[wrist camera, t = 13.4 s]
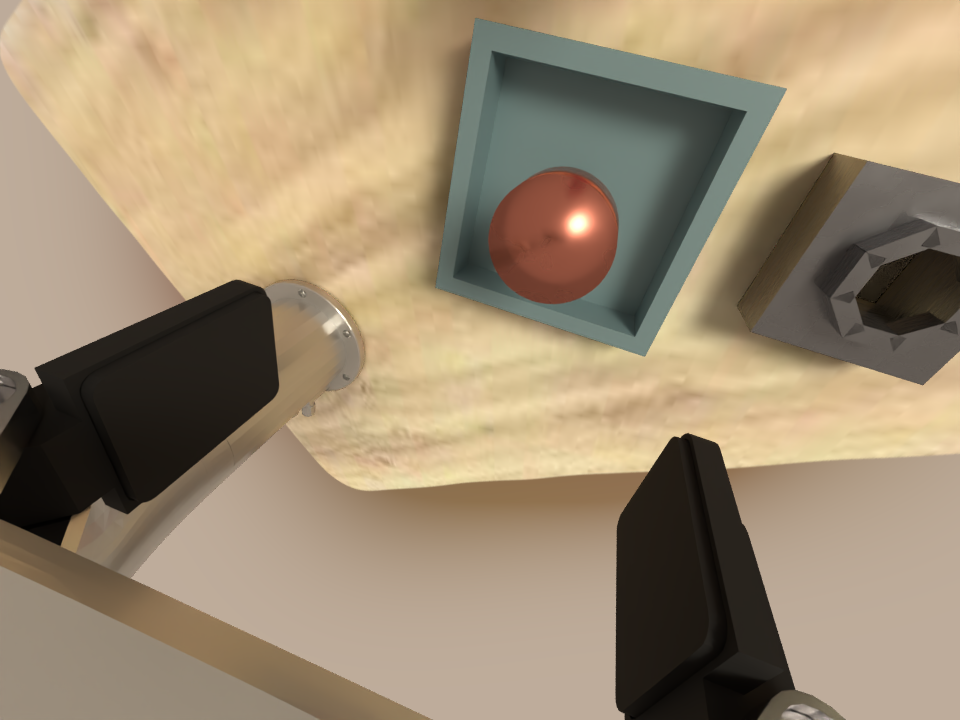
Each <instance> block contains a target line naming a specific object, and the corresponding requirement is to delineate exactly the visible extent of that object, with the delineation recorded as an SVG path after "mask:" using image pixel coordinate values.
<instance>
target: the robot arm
mask: <svg viewBox="0 0 960 720" xmlns="http://www.w3.org/2000/svg"><path fill="white" fill-rule="evenodd" d="M364 355H365V351H364V345H363V340H362V337H361V335H360V332H359V330H358V328H357V326H356V324H355V322H354V320H353V319H352V317H351V316H350V315H349V313H348V312H347V310H346V309H345V308H344V307H343V306H342V305H341V304H340V303H339V302H338V301H337V300H336V299H335V298H333V297H332V296H331V295H330V294H328V293H327V292H326V291H324V290H322V289H320V288H319V287H317V286H315V285H312V284H310V283H307V282H304V281H299V280H282V281H278V282H275V283H273V284H271V285H269V286H267V287H266V288H265V289H263V288H261V287H259V286H256V285H253V284H250V283H247V282H244V281H241V280H234V281H231V282H228V283H226V284H224V285H222V286H219V287H217V288H215V289H212V290H210V291H208V292H206V293H203V294H201V295H199V296H197V297H194V298H192V299H190V300H187V301H185V302H183V303H181V304H178V305H176V306H174V307H172V308H169V309H167V310H165V311H163V312H160V313H158V314H156V315H153V316H151V317H149V318H147V319H145V320H142V321H140V322H138V323H135V324H133V325H131V326H129V327H126V328H124V329H122V330H119V331H117V332H115V333H113V334H110V335H108V336H106V337H104V338H101V339H99V340H97V341H95V342H92V343H90V344H88V345H85V346H83V347H81V348H79V349H76V350H74V351H72V352H70V353H67V354H65V355H63V356H60V357H58V358H56V359H54V360H51V361H49V362H47V363H45V364H42V365H40V366H38V367H35V370H36V372H37V374H38V376H39V378H40V379H41V382H42V384H41V385H38V386H36V387H34V388H32V387H31V385H30V383H29V382H28V380H27V378H26V376H24V375H22V374H20V373H18V372H15V371H10V370H4V369H0V720H432V719H430V718H428V717H425V716H423V715H421V714H419V713H417V712H415V711H413V710H411V709H409V708H406V707H404V706H402V705H400V704H398V703H396V702H394V701H392V700H390V699H387V698H385V697H383V696H381V695H379V694H377V693H375V692H373V691H371V690H368V689H366V688H364V687H362V686H360V685H358V684H356V683H354V682H351V681H349V680H347V679H345V678H343V677H341V676H339V675H337V674H334V673H332V672H330V671H328V670H326V669H324V668H322V667H320V666H317V665H315V664H313V663H311V662H309V661H306V660H305V659H302V658H300V657H298V656H296V655H294V654H292V653H289V652H287V651H285V650H283V649H281V648H279V647H277V646H275V645H272V644H270V643H268V642H266V641H264V640H262V639H259V638H257V637H255V636H253V635H251V634H249V633H247V632H244V631H242V630H240V629H238V628H236V627H234V626H232V625H230V624H227V623H225V622H223V621H221V620H219V619H217V618H214V617H212V616H210V615H208V614H206V613H204V612H201V611H199V610H197V609H195V608H193V607H191V606H189V605H186V604H184V603H182V602H180V601H178V600H176V599H173V598H171V597H169V596H167V595H165V594H163V593H161V592H159V591H156V590H154V589H152V588H150V587H148V586H146V585H143V584H141V583H139V582H137V581H135V580H132V579H131V577H132V576H133V575H134V574H135V573H136V571H137V570H138V569H139V568H140V567H141V565H142V564H143V563H144V562H145V561H146V560H147V558H148V557H149V556H150V555H151V554H152V553H153V552H154V550H155V549H156V548H157V547H158V546H159V545H160V544H161V543H162V541H163V540H164V539H165V538H166V537H167V536H168V535H169V534H170V533H171V532H172V531H173V530H174V529H175V528H176V527H177V526H178V525H179V524H180V523H181V522H182V521H183V519H185V518H186V517H187V515H188V514H189V513H191V512H192V511H193V510H194V509H195V508H196V507H197V506H198V505H199V504H200V503H201V502H202V501H203V500H204V499H205V498H206V497H207V496H208V495H209V494H210V493H211V492H212V491H214V490H215V489H216V488H217V487H218V486H219V485H220V484H221V483H222V482H223V481H224V480H225V479H226V478H228V477H229V476H230V475H231V474H232V473H233V472H234V471H235V470H236V469H237V468H238V467H239V466H240V465H241V464H243V463H244V462H245V461H246V460H247V459H248V458H249V457H250V456H251V455H252V454H253V453H254V452H255V451H256V450H257V449H259V448H260V447H261V446H262V445H263V444H264V443H265V442H266V441H267V440H268V439H269V438H271V437H272V436H273V435H274V434H275V433H276V432H277V431H278V430H279V429H280V428H281V427H282V426H283V425H285V424H286V423H287V422H288V421H289V420H290V419H291V418H293V417H295V416H297V415H298V413H299V411H300V410H301V409H302V414H303V415H304V416H307V417H309V416H312V415H314V414H315V402H314V401H315V400H316V399H317V398H318V397H319V396H320V395H321V394H322V393H323V392H324V391H336V390H340V389H343V388H345V387H347V386H348V385H349V384H351V383H352V382H353V381H354V380H355V379H356V378H357V377H358V375H359V374H360V372H361V370H362V368H363V364H364ZM616 568H617V569H616V571H617V572H616V705H617V708H618V710H619V711H620V712H623V713H625V720H846V719H844V718H843V717H842V716H841V715H840V714H839V713H838V712H836V711H835V710H834V709H833V708H832V707H831V706H829V705H827V704H826V703H824V702H823V701H821V700H819V699H818V698H816V697H814V696H813V695H810V694H807V693H804V692H801V691H798V690H795V687H794V684H793V680H792V677H791V674H790V671H789V667H788V664H787V661H786V657H785V654H784V651H783V647H782V644H781V641H780V637H779V634H778V631H777V628H776V624H775V621H774V618H773V614H772V611H771V608H770V605H769V601H768V598H767V594H766V591H765V588H764V585H763V581H762V578H761V575H760V571H759V568H758V565H757V561H756V558H755V555H754V551H753V548H752V545H751V541H750V538H749V535H748V532H747V530H746V528H745V526H744V525H743V524H742V522H741V518H740V515H739V512H738V508H737V505H736V502H735V498H734V495H733V491H732V488H731V485H730V481H729V478H728V474H727V471H726V467H725V464H724V461H723V457H722V454H721V451H720V448H719V446H718V444H717V443H715V442H712V441H709V440H706V439H703V438H701V437H698V436H695V435H692V434H689V433H687V434H684V435H683V436H682V437H681V438H679V437H673V438H671V440H670V441H669V442H668V444H667V445H666V447H665V448H664V450H663V451H662V453H661V454H660V456H659V457H658V459H657V460H656V462H655V463H654V465H653V466H652V468H651V469H650V471H649V473H648V474H647V476H646V477H645V479H644V480H643V482H642V483H641V485H640V486H639V488H638V489H637V491H636V492H635V494H634V495H633V497H632V498H631V500H630V501H629V503H628V504H627V506H626V507H625V509H624V511H623V512H622V514H621V515H620V518H619V521H618V525H617V567H616Z"/></svg>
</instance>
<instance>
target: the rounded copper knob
mask: <svg viewBox="0 0 960 720" xmlns="http://www.w3.org/2000/svg"><path fill="white" fill-rule="evenodd" d="M618 230H619V217H618V211H617V206H616V204H615V201H614V199H613V197H612V195H611V193H610V191H609V190H608V189H607V187H606V186H605V185H604V184H603V183H602V182H601V181H600V180H599V179H598V178H596V177H595V176H594V175H592V174H590V173H588V172H586V171H584V170H581V169H578V168H574V167H565V166H560V167H552V168H548V169H544V170H542V171H539V172H537V173H535V174H534V175H532V176H530V177H529V178H528V179H526V180H525V181H524V182H522V183H521V184H519V185H518V186H517V187H515V188H514V189H513V190H511V191H510V192H509V193H508V194H507V195H506V196H505V197H504V199H503V200H502V201H501V202H500V204H499V205H498V207H497V209H496V210H495V213H494V215H493V217H492V220H491V224H490V228H489V237H488V244H489V252H490V256H491V260H492V263H493V265H494V267H495V269H496V271H497V273H498V275H499V276H500V278H501V279H502V280H503V281H504V283H505V284H506V285H507V286H508V287H509V288H510V289H512V290H513V291H514V292H516V293H517V294H518V295H520V296H522V297H524V298H526V299H528V300H531V301H534V302H538V303H544V304H561V303H567V302H571V301H574V300H576V299H579V298H581V297H583V296H585V295H586V294H588V293H589V292H591V291H592V290H593V289H595V288H596V287H597V286H598V285H599V284H600V283H601V282H602V280H603V279H604V278H605V276H606V275H607V273H608V272H609V270H610V268H611V266H612V264H613V261H614V258H615V255H616V249H617V241H618Z"/></svg>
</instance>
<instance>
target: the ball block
mask: <svg viewBox="0 0 960 720" xmlns="http://www.w3.org/2000/svg"><path fill="white" fill-rule="evenodd" d="M915 253H918V254H917V255H916V256H915V257H914V258H913V259H912V261H911V262H910V263H909V264H908V265H907V267H906V268H905V269H904V270H903V271H902V272H901V274H900V275H899V276H898V277H897V278H896V279H895V281H894V282H893V283H892V284H891V285H890V286H889V288H888V289H887V290H886V291H885V292H884V293H883V295H882V296H881V297H880V298H879V299H878V301H877V302H876V303H874V302H870V301H867V300H863V299H860V298H856V295H857V294H858V293H859V292H860V290H861V289H862V288H863V287H864V286H865V284H866V283H867V282H868V281H869V279H870V278H871V277H872V276H873V274H874V273H875V272H876V271H877V270H878V268H879V267H880V266H881V265H883V264H886V263H889V262H892V261H895V260H898V259H901V258H903V257H906V256H909V255H912V254H915ZM737 307H738V309H739V311H740V313H741V314H742V316H743V318H744V320H745V322H746V324H747V326H748V328H749V330H750V332H753V333H756V334H759V335H763V336H766V337H769V338H772V339H775V340H779V341H782V342H785V343H788V344H792V345H795V346H798V347H801V348H804V349H808V350H811V351H814V352H817V353H821V354H824V355H827V356H830V357H833V358H837V359H840V360H843V361H846V362H850V363H853V364H856V365H859V366H862V367H866V368H869V369H872V370H875V371H879V372H882V373H885V374H888V375H891V376H895V377H898V378H901V379H904V380H908V381H911V382H914V383H917V384H920V385H924V384H925V383H926V382H927V381H928V380H929V379H930V378H931V377H932V376H933V375H934V374H936V373H937V372H938V371H939V370H940V369H941V368H942V367H943V366H944V365H945V364H946V363H947V362H948V361H949V360H950V359H952V358H953V357H954V356H955V355H956V354H957V353H958V352H959V351H960V183H956V182H952V181H948V180H944V179H940V178H935V177H931V176H927V175H923V174H919V173H915V172H911V171H907V170H903V169H899V168H895V167H890V166H886V165H882V164H878V163H874V162H870V161H866V160H862V159H858V158H854V157H849V156H845V155H841V154H837V153H834V155H833V156H832V158H831V160H830V161H829V163H828V164H827V166H826V167H825V169H824V171H823V172H822V174H821V175H820V177H819V178H818V180H817V182H816V183H815V185H814V186H813V188H812V189H811V191H810V193H809V194H808V196H807V197H806V199H805V201H804V202H803V204H802V205H801V207H800V208H799V210H798V212H797V213H796V215H795V216H794V218H793V219H792V221H791V223H790V224H789V226H788V227H787V229H786V230H785V232H784V234H783V235H782V237H781V238H780V240H779V241H778V243H777V245H776V246H775V248H774V249H773V251H772V252H771V254H770V256H769V257H768V259H767V260H766V262H765V263H764V265H763V267H762V268H761V270H760V271H759V273H758V274H757V276H756V278H755V279H754V281H753V282H752V284H751V285H750V287H749V289H748V290H747V292H746V293H745V295H744V296H743V298H742V300H741V301H740V303H739V304H738V306H737Z"/></svg>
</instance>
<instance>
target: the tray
mask: <svg viewBox="0 0 960 720" xmlns="http://www.w3.org/2000/svg"><path fill="white" fill-rule="evenodd" d="M786 90H787V89H786V88H782V87H777V86H773V85H768V84H764V83H760V82H755V81H751V80H746V79H742V78H738V77H733V76H729V75H724V74H720V73H716V72H711V71H707V70H702V69H698V68H694V67H689V66H685V65H680V64H676V63H672V62H667V61H663V60H658V59H654V58H650V57H645V56H641V55H636V54H632V53H628V52H623V51H619V50H615V49H610V48H606V47H601V46H597V45H593V44H588V43H584V42H579V41H575V40H571V39H566V38H562V37H557V36H553V35H549V34H544V33H540V32H535V31H531V30H527V29H522V28H518V27H513V26H509V25H505V24H500V23H496V22H491V21H487V20H483V19H478V18H475V23H474V30H473V37H472V43H471V50H470V57H469V64H468V70H467V77H466V84H465V91H464V97H463V104H462V111H461V118H460V125H459V131H458V138H457V145H456V152H455V158H454V165H453V172H452V179H451V186H450V192H449V199H448V206H447V213H446V219H445V226H444V233H443V240H442V246H441V253H440V260H439V267H438V274H437V280H436V287H435V288H438V289H441V290H444V291H447V292H450V293H453V294H456V295H459V296H462V297H466V298H469V299H472V300H475V301H478V302H481V303H484V304H487V305H490V306H493V307H496V308H499V309H502V310H505V311H508V312H511V313H514V314H517V315H520V316H523V317H526V318H529V319H532V320H535V321H538V322H541V323H544V324H547V325H550V326H553V327H556V328H559V329H562V330H565V331H568V332H572V333H575V334H578V335H581V336H584V337H587V338H590V339H593V340H596V341H599V342H602V343H605V344H608V345H611V346H614V347H617V348H620V349H623V350H626V351H629V352H632V353H635V354H638V355H641V356H644V357H645V356H646V354H647V352H648V350H649V348H650V346H651V344H652V342H653V340H654V339H655V337H656V335H657V333H658V331H659V329H660V327H661V325H662V324H663V322H664V320H665V318H666V316H667V314H668V312H669V310H670V308H671V307H672V305H673V303H674V301H675V299H676V297H677V295H678V293H679V292H680V290H681V288H682V286H683V284H684V282H685V280H686V278H687V276H688V275H689V273H690V271H691V269H692V267H693V265H694V263H695V261H696V259H697V258H698V256H699V254H700V252H701V250H702V248H703V246H704V244H705V243H706V241H707V239H708V237H709V235H710V233H711V231H712V229H713V227H714V226H715V224H716V222H717V220H718V218H719V216H720V214H721V212H722V211H723V209H724V207H725V205H726V203H727V201H728V199H729V197H730V195H731V194H732V192H733V190H734V188H735V186H736V184H737V182H738V180H739V179H740V177H741V175H742V173H743V171H744V169H745V167H746V165H747V163H748V162H749V160H750V158H751V156H752V154H753V152H754V150H755V148H756V146H757V145H758V143H759V141H760V139H761V137H762V135H763V133H764V131H765V130H766V128H767V126H768V124H769V122H770V120H771V118H772V116H773V114H774V113H775V111H776V109H777V107H778V105H779V103H780V101H781V99H782V98H783V96H784V94H785V92H786ZM560 166H565V167H574V168H578V169H581V170H584V171H586V172H588V173H590V174H592V175H594V176H595V177H596V178H598V179H599V180H600V181H601V182H602V183H603V184H604V185H605V186H606V187H607V189H608V190H609V191H610V193H611V195H612V197H613V199H614V201H615V204H616V206H617V211H618V217H619V230H618V241H617V249H616V255H615V258H614V261H613V264H612V266H611V268H610V270H609V272H608V273H607V275H606V276H605V278H604V279H603V280H602V282H601V283H600V284H599V285H598V286H597V287H596V288H595V289H593V290H592V291H591V292H589V293H588V294H586V295H585V296H583V297H581V298H579V299H576V300H574V301H571V302H567V303H561V304H544V303H538V302H534V301H531V300H528V299H526V298H524V297H522V296H520V295H518V294H517V293H516V292H514V291H513V290H512V289H510V288H509V287H508V286H507V285H506V284H505V283H504V281H503V280H502V279H501V278H500V276H499V275H498V273H497V271H496V269H495V267H494V265H493V263H492V260H491V256H490V252H489V244H488V237H489V228H490V224H491V220H492V217H493V215H494V213H495V210H496V209H497V207H498V205H499V204H500V202H501V201H502V200H503V199H504V197H505V196H506V195H507V194H508V193H509V192H510V191H511V190H513V189H514V188H515V187H517V186H518V185H519V184H521V183H522V182H524V181H525V180H526V179H528V178H529V177H530V176H532V175H534V174H535V173H537V172H539V171H542V170H544V169H548V168H552V167H560Z"/></svg>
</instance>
